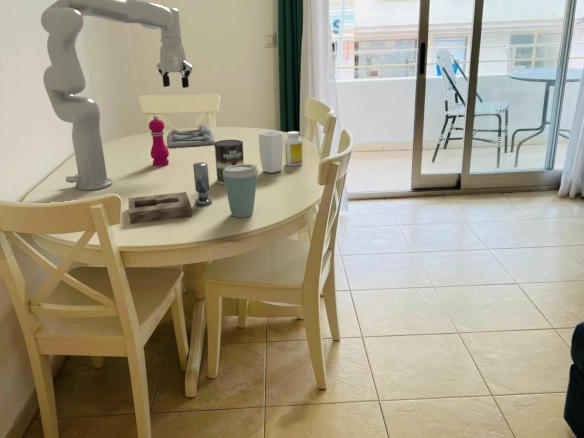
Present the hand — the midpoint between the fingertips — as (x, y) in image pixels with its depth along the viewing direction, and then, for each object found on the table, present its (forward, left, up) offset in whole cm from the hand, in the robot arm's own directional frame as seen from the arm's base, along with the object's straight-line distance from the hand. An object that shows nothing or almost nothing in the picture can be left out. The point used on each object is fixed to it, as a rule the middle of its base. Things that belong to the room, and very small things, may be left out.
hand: (176, 86), depth 216 cm
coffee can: (+14, -36, -30) cm, 49 cm away
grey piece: (+8, +39, -31) cm, 50 cm away
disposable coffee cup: (+11, -72, -30) cm, 79 cm away
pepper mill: (-9, -3, -30) cm, 32 cm away
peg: (+1, -58, -30) cm, 66 cm away
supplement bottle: (+42, -23, -30) cm, 57 cm away
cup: (+31, -30, -30) cm, 53 cm away
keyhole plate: (-13, -62, -30) cm, 71 cm away
